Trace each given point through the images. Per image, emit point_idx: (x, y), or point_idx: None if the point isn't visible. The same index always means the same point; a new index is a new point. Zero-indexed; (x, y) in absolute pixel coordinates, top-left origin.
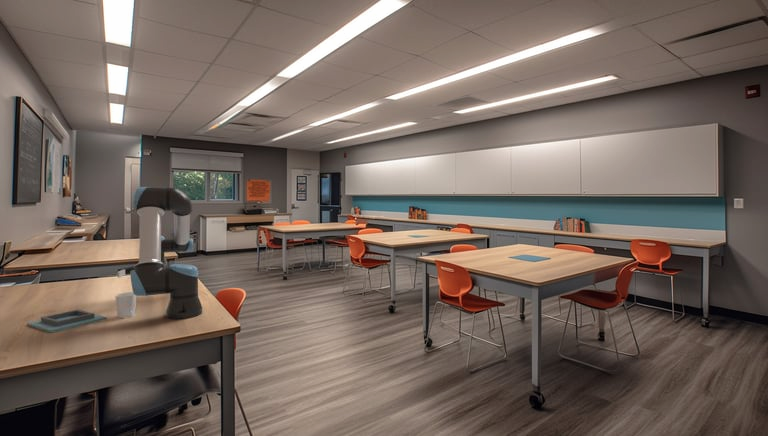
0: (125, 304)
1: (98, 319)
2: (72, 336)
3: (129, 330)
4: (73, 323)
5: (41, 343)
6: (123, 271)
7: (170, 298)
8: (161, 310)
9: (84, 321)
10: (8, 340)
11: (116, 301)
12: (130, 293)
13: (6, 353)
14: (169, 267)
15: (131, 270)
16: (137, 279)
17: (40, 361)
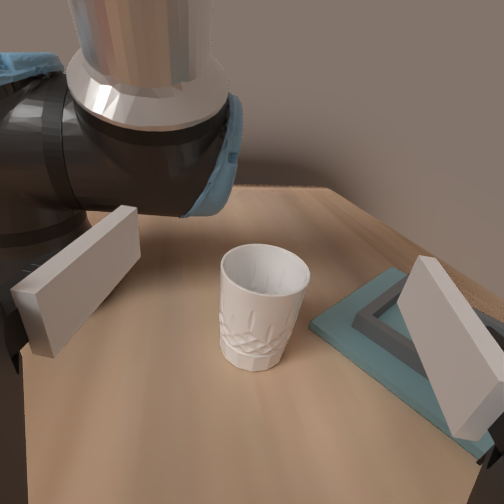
0: (253, 275)
1: (327, 310)
2: (320, 240)
3: (213, 231)
4: (379, 295)
5: (355, 231)
6: (456, 342)
7: (86, 217)
8: (102, 373)
9: (358, 301)
10: (441, 262)
11: (292, 277)
12: (254, 296)
13: (375, 218)
14: (62, 67)
15: (236, 96)
16: (205, 120)
17: (303, 189)
